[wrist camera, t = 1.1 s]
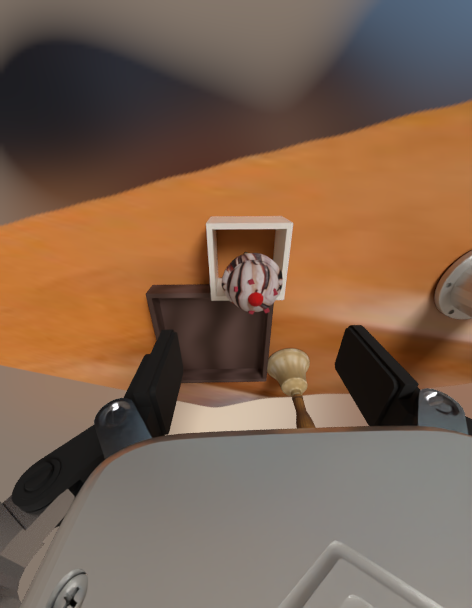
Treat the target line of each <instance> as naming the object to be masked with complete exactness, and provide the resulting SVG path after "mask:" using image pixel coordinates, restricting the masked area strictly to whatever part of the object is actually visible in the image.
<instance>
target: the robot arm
mask: <svg viewBox="0 0 472 608" xmlns="http://www.w3.org/2000/svg"><path fill="white" fill-rule="evenodd" d="M434 299H435V304H436V307H437V309H438V310H439V311H440V312H441V313H443V314H445V315H446V316H448V317H451V318H454V319H471V318H472V250H471V251H470V252H468V253H467V254H465V255H463V256H462V257H461V258H459V259H458V260H457V261H456V262H455V263H453V264H452V265H451V267H450V268H449V269H448V270H447V271H446V272H445V273H444V275H443V276H442V277H441V279H440V281H439V283H438V285H437V288H436V291H435V297H434ZM335 369H336V371H337V372H338V374H339V376H340V377H341V379H342V381H343V383H344V384H345V386H346V388H347V389H348V391H349V393H350V394H351V396H352V398H353V399H354V401H355V403H356V405H357V406H358V408H359V410H360V411H361V413H362V415H363V417H364V418H365V420H366V422H367V423H368V425H369V426H362V427H361V426H360V427H327V428H298V429H271V430H247V431H223V432H204V433H186V434H176V435H166V434H168V433H169V431H170V426H171V422H172V418H173V414H174V410H175V406H176V401H177V397H178V393H179V389H180V385H181V381H182V376H183V363H182V357H181V351H180V345H179V340H178V334H177V332H174V330H173V329H166V330H162V331H161V332H160V335H159V337H158V339H157V341H156V343H155V345H154V348H153V350H152V352H151V354H146V355H145V356H144V358H143V360H142V362H141V364H140V366H139V368H138V370H137V372H136V374H135V376H134V378H133V380H132V382H131V384H130V386H129V388H128V390H127V392H126V394H125V396H124V398H120V399H115V400H113V401H110V402H109V403H107V404H106V405H104V406H103V407H102V408H101V409H100V410H99V412H98V413H97V415H96V417H95V420H94V425H93V426H91V427H90V428H88V429H87V430H85V431H84V432H82V433H81V434H79V435H78V436H76V437H74V438H73V439H71V440H70V441H69V442H67V443H65V444H64V445H62V446H61V447H59V448H58V449H56V450H54V451H53V452H52V453H50V454H48V455H47V456H45V457H44V458H42V459H41V460H39V461H38V462H36V463H35V464H34V465H32V466H31V467H30V468H29V469H28V470H27V471H26V472H25V473H24V474H23V475H22V476H21V477H20V479H19V480H18V482H17V483H16V485H15V487H14V490H13V492H12V495H11V496H10V497H9V498H8V499H7V500H6V501H4V502H3V503H1V502H0V608H472V419H470V418H468V417H466V416H465V413H464V410H463V408H462V407H461V406H460V404H459V403H458V402H456V401H455V400H454V399H453V398H451V397H450V396H448V395H447V394H445V393H442V392H440V391H437V390H434V389H428V388H427V389H422V390H420V389H419V388H418V387H417V386H418V385H419V384H418V383H417V382H416V381H415V380H414V379H413V378H412V377H411V375H410V374H409V373H408V372H407V371H406V370H405V369H404V368H403V367H402V366H401V365H400V364H399V363H398V362H397V361H396V360H395V359H394V358H393V357H392V356H391V355H390V354H389V353H388V352H387V351H386V350H385V349H384V348H383V347H382V345H381V344H380V343H379V342H378V341H377V340H376V339H375V338H374V337H373V336H372V335H371V334H370V333H369V332H368V331H367V330H366V329H365V328H364V327H363V326H362V325H351V326H349V327H348V328H346V330H345V332H344V336H343V339H342V342H341V345H340V349H339V352H338V355H337V358H336V362H335ZM165 435H166V436H165ZM58 526H59V528H58V530H57V532H56V534H55V536H54V538H53V540H52V542H51V544H50V546H49V548H48V550H47V552H46V554H45V556H44V558H43V560H42V562H41V564H40V566H39V568H38V571H37V573H36V575H35V576H34V579H33V581H32V583H31V585H30V587H29V589H28V591H27V593H26V595H25V597H24V599H23V601H22V603H21V602H20V600H19V596H18V592H17V591H18V586H19V581H20V578H21V576H22V574H23V572H24V569H25V568H26V566H27V565H28V563H29V562H30V561H31V559H32V558H33V556H34V555H35V554H36V553H37V552H38V550H39V549H40V548H41V547H42V546H43V545H44V543H43V540H44V539H45V538H46V537H47V536H48V535H49V533H50V532H51V531H52V530H53V529H54V528H55V527H58ZM84 574H87V575H84Z"/></svg>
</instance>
